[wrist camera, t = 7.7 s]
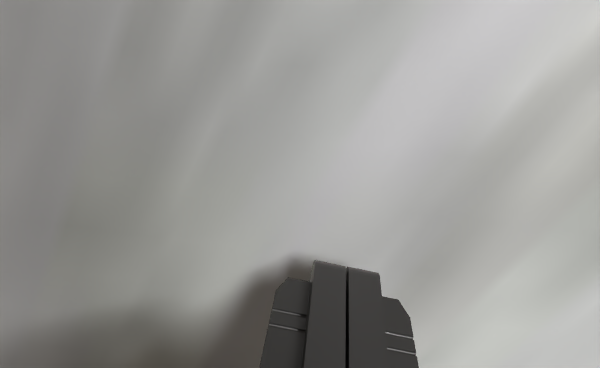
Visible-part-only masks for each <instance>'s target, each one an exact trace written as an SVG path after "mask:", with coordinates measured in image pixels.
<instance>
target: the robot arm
mask: <svg viewBox="0 0 600 368" xmlns="http://www.w3.org/2000/svg"><path fill="white" fill-rule="evenodd" d="M260 368H419V367H418V361H417V356H416V349H415V344H414V340H413V332H412V327H411V321H410V317H409V315H408V314H407V312H406V311H405V309H404V308H403V306H402V305H401V303H400V302H399V300H397V299H392V298H387V297H382V294H381V284H380V276H379V273H376V272H371V271H366V270H361V269H356V268H351V267H347V268H346V267H345V266H341V265H336V264H331V263H326V262H321V261H316V260H315V261H314V263H313V267H312V271H311V276H310V280H309V282H308V281H303V280H298V279H293V278H289V277H288V278H287V279H286V281H285V282H284V283H283V284H282V285H281V286H280V287H279V288H278V289H277V290H276V293H275V298H274V303H273V307H272V312H271V317H270V321H269V326H268V331H267V335H266V340H265V344H264V349H263V354H262V358H261V363H260Z"/></svg>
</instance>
